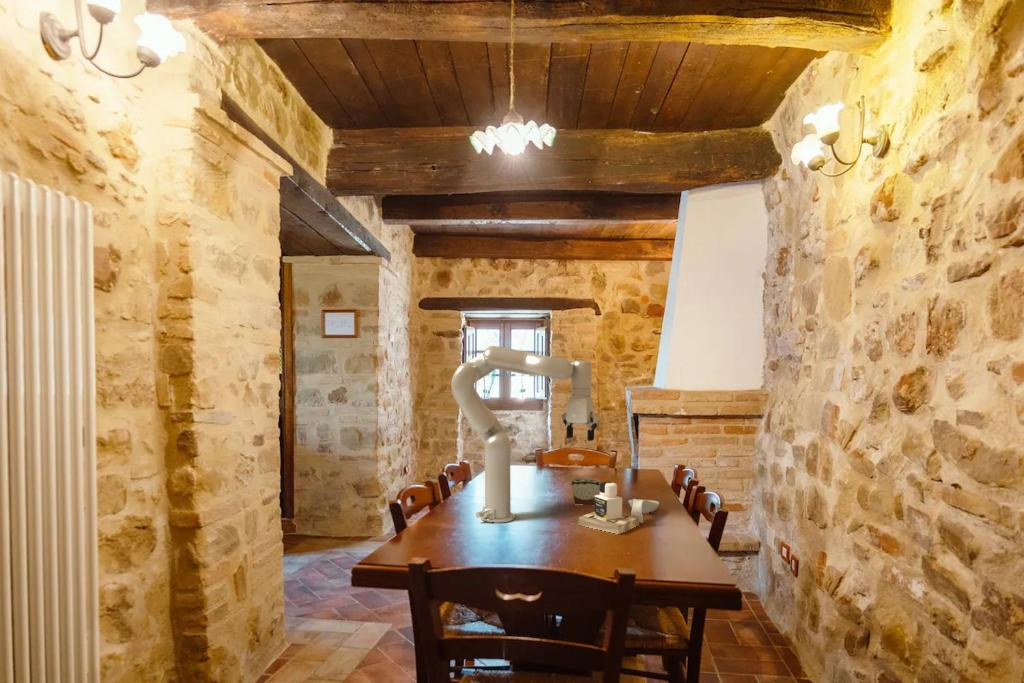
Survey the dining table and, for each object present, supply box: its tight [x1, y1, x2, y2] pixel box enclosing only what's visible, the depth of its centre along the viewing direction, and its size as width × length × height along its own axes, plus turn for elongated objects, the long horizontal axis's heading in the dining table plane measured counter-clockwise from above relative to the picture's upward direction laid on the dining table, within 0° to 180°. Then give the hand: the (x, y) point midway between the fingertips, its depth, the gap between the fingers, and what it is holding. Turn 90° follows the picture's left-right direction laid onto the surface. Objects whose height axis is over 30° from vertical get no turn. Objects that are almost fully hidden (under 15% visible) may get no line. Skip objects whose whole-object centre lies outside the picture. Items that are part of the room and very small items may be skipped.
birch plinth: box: [578, 511, 640, 535], centre depth 193 cm, size 14×16×3 cm
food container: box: [570, 477, 601, 505], centre depth 225 cm, size 12×6×10 cm, turn 84°
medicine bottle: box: [593, 481, 623, 520], centre depth 194 cm, size 7×7×12 cm
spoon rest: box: [628, 498, 660, 524], centre depth 208 cm, size 24×12×7 cm, turn 159°
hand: (579, 439), depth 205 cm, fingers open, 9 cm apart
